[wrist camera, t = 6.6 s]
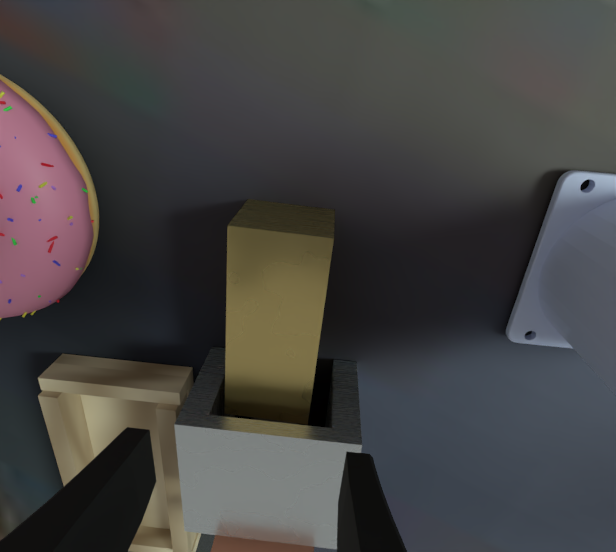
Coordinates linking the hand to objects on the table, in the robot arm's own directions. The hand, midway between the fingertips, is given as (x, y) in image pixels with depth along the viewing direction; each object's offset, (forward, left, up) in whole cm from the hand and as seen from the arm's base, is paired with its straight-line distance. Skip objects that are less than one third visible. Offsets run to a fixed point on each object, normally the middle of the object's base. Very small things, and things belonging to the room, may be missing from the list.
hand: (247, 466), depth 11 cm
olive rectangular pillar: (0, 0, -10) cm, 10 cm away
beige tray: (+8, +12, -9) cm, 17 cm away
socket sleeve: (0, +7, -9) cm, 12 cm away
